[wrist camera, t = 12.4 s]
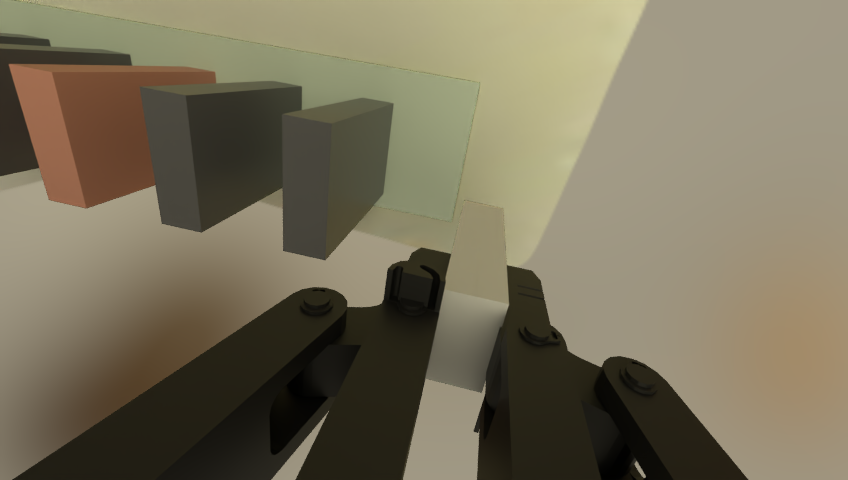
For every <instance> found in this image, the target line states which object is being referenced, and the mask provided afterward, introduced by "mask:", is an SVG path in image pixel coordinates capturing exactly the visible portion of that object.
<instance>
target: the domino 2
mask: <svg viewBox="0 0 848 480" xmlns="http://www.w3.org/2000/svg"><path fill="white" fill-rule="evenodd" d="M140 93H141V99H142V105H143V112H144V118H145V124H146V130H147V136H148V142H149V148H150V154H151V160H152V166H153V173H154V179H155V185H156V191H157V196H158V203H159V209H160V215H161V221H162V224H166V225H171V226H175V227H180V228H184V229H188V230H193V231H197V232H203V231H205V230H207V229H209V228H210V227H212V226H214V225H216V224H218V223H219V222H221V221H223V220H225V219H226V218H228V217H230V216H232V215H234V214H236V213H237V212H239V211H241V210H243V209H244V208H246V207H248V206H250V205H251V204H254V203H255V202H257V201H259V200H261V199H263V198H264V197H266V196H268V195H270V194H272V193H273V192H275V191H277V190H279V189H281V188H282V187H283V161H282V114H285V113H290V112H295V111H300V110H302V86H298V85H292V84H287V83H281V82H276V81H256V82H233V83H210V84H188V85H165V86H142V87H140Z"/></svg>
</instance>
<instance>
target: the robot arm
mask: <svg viewBox="0 0 848 480" xmlns="http://www.w3.org/2000/svg"><path fill="white" fill-rule="evenodd" d="M542 291H543V290H542V285H541V281H540V279H538V277H537V276H536V275H535V274H534V273H533V271H531V270H526V269H522V268H517V267H513V266H508V265H507V263H506V246H505V230H504V214H503V208H500V207H495V206H490V205H485V204H480V203H476V202H471V201H466V200H464V204H463V208H462V212H461V216H460V220H459V224H458V229H457V233H456V237H455V241H454V245H453V249H452V253H451V254H448V253H444V252H439V251H435V250H430V249H426V248H420V249H418V250H416V251H415V252H413V253H412V254H411V256H410V258H409V260H408V261H400V262H397V263H395V264H392V265H391V266H390V267H389V268H388V271H387V279H386V286H385V294H384V300H383V302H382V304H380V305H377V306H372V307H362V308H361V307H347V300H346V299H345V298H344V296H343V295H342V294H340V293H338V292H337V291H335V290H331V289H328V288H319V287H318V288H317V287H313V288H307V289H302V290H300V291H298V292H295V293H293V294H292V295H290V296H289V297H287V298H286V299H284V300H283V301H281V302H280V303H278V304H277V305H275V306H274V307H272V308H270V309H269V310H268V311H266V312H264V313H263V314H261V315H260V316H258V317H257V318H255V319H254V320H252V321H251V322H249V323H248V324H246V325H245V326H243V327H242V328H241V329H239V330H237V331H236V332H234V333H233V334H231V335H230V336H228V337H227V338H225V339H224V340H222V341H221V342H219V343H218V344H216V345H215V346H213V347H212V348H210V349H209V350H207V351H206V352H204V353H203V354H201V355H200V356H198V357H197V358H195V359H194V360H192V361H191V362H189V363H188V364H186V365H185V366H183V367H182V368H180V369H179V370H177V371H176V372H174V373H173V374H171V375H170V376H168V377H166V378H165V379H164V380H162V381H160V382H159V383H157V384H156V385H154V386H153V387H152V388H150V389H148V390H147V391H145V392H144V393H143V394H141V395H139V396H138V397H136V398H135V399H133V400H132V401H131V402H129V403H127V404H126V405H124V406H123V407H121V408H120V409H118V410H117V411H115V412H114V413H112V414H111V415H109V416H108V417H106V418H105V419H103V420H102V421H100V422H99V423H97V424H96V425H94V426H93V427H91V428H90V429H88V430H87V431H85V432H84V433H82V434H81V435H79V436H78V437H76V438H75V439H73V440H72V441H70V442H69V443H67V444H66V445H64V446H63V447H61V448H60V449H58V450H57V451H55V452H54V453H52V454H50V455H49V456H47V457H46V458H44V459H43V460H41V461H40V462H38V463H37V464H35V465H34V466H32V467H31V468H29V469H28V470H26V471H25V472H23V473H22V474H20V475H19V476H17V477H16V478H14V479H13V480H271V479H272V478H273V477H274V476H275V474H276V473H277V472H278V471H279V470H280V468H281V467H282V466H283V465H284V464H285V462H286V461H287V460H288V459H289V458H290V456H291V455H292V454H293V453H294V452H295V451H296V449H297V448H298V447H299V446H300V445H301V443H302V442H303V441H304V440H305V438H306V437H307V436H308V435H309V434H310V433H311V432H312V430H313V429H314V428H315V427H316V425H317V424H318V423H319V422H320V421H321V420H322V418H323V417H324V416H325V415H326V414H327V412H328V411H329V412H328V414H327V416H326V419H325V421H324V423H323V425H322V427H321V429H320V431H319V433H318V435H317V437H316V439H315V441H314V443H313V445H312V447H311V449H310V452H309V454H308V455H307V458H306V459H305V462H304V464H303V466H302V468H301V470H300V472H299V474H298V476H297V478H296V480H403V476H404V471H405V467H406V463H407V458H408V454H409V449H410V445H411V440H412V436H413V432H414V427H415V422H416V418H417V414H418V409H419V405H420V400H421V396H422V391H423V387H424V382H425V379H429V380H434V381H438V382H441V383H445V384H450V385H453V386H457V387H461V388H465V389H469V390H473V391H477V392H482V390H483V387H484V383H485V380H486V391H485V397H484V400H483V403H482V407H481V409H480V412H479V416H478V419H477V422H476V425H475V429H474V432H477V433H478V431H479V430H480V431H479V451H478V472H477V480H748V479H747V478H746V476H745V475H744V474H743V473H742V472H741V470H740V469H739V468H738V467H737V466H736V464H735V463H734V462H733V461H732V460H731V458H730V457H729V456H728V455H727V453H726V452H725V451H724V450H723V449H722V447H721V446H720V445H719V444H718V443H717V441H716V440H715V439H714V438H713V437H712V435H711V434H710V433H709V432H708V431H707V429H706V428H705V427H704V426H703V425H702V423H701V422H700V421H699V420H698V418H697V417H696V416H695V415H694V414H693V413H692V411H691V410H690V409H689V408H688V406H687V405H686V404H685V403H684V402H683V400H682V399H681V398H680V397H679V396H678V394H677V393H676V392H675V391H674V390H673V388H672V387H671V386H670V385H669V384H668V382H667V381H666V380H665V379H663V377H661V376H660V375H659V374H658V373H657V372H656V371H654V370H653V369H651V368H650V367H648V366H647V365H645V364H643V363H641V362H638V361H636V360H634V359H630V358H626V357H621V356H617V357H610V358H608V359H607V360H606V361H604V363H603V365H602V367H599V366H597V365H594V364H592V363H590V362H588V361H585V360H583V359H581V358H579V357H577V356H575V355H574V354H572V353H570V352H569V351H568V350H567V346H566V342H565V340H564V338H563V336H562V334H561V333H560V332H558V331H557V330H556V329H555V328H554V327H553V326H551V325H550V321H549V317H548V313H547V308H546V304H545V300H544V294H543V292H542ZM636 461H637V462H638V463H639V465H640V467H641V468H642V470H643V472H644V474H645V475H646V478H643V477H642V476H641V474H640V473H639V472H638V470H637V468H636V467H635V465H634V464H635V462H636Z"/></svg>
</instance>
